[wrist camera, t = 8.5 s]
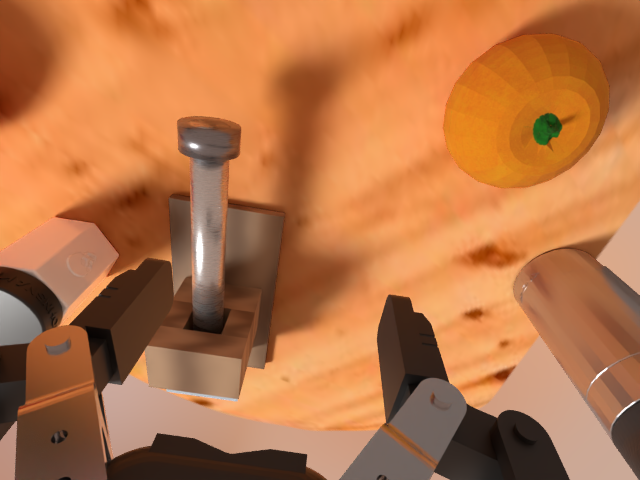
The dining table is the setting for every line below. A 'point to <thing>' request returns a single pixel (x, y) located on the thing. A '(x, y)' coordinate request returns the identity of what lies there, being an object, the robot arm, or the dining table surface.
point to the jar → (50, 276)
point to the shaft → (208, 211)
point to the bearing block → (239, 306)
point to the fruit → (526, 110)
